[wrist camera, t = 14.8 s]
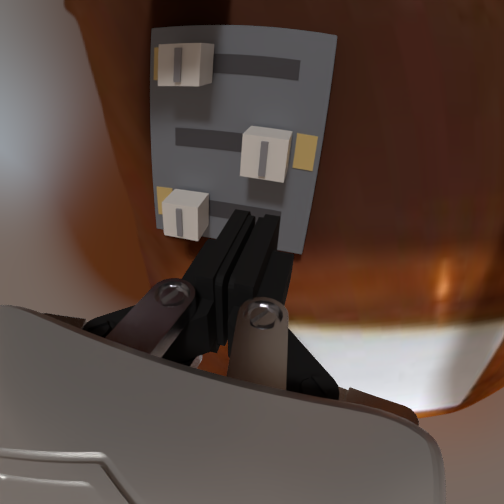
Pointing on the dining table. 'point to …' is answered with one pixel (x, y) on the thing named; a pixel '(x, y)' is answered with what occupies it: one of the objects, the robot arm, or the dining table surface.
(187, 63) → the switch
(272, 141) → the switch
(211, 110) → the switch unit
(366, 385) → the dining table surface
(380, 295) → the dining table surface
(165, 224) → the switch
